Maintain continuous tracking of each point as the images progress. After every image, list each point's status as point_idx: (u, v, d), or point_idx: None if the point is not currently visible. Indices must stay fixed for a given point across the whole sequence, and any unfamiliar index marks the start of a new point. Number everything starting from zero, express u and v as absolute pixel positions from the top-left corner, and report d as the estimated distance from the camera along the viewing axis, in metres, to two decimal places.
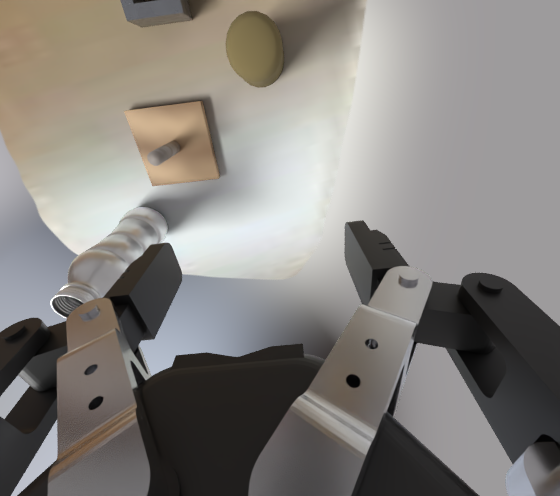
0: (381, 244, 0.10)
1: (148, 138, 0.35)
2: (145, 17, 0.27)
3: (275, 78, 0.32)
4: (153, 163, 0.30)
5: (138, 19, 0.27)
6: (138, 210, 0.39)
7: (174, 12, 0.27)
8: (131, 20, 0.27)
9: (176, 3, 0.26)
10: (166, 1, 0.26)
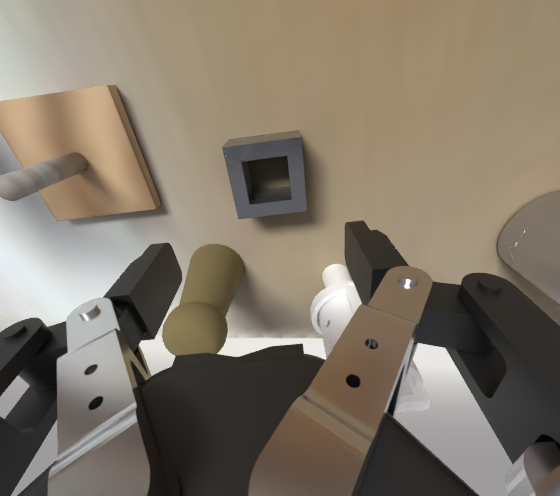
0: (381, 244, 0.10)
1: (76, 120, 0.21)
2: (229, 173, 0.21)
3: None
4: None
5: (226, 162, 0.20)
6: None
7: (237, 209, 0.22)
8: None
9: (246, 213, 0.22)
10: (246, 202, 0.22)
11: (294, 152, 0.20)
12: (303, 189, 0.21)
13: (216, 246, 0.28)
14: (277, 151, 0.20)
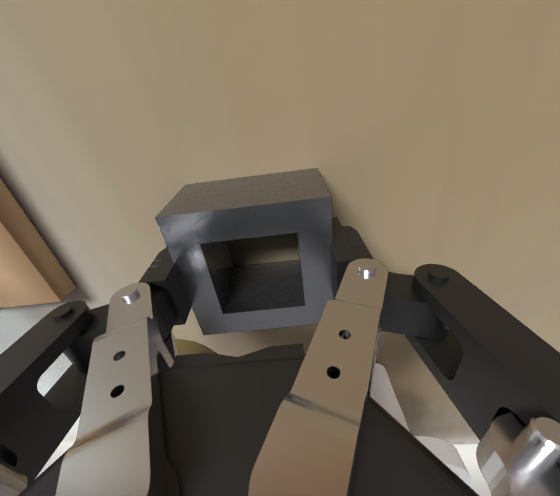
0: (351, 239, 0.10)
1: None
2: (176, 264, 0.10)
3: None
4: None
5: None
6: None
7: (200, 320, 0.12)
8: None
9: (217, 326, 0.12)
10: (217, 311, 0.11)
11: (314, 226, 0.09)
12: (329, 289, 0.11)
13: (177, 344, 0.17)
14: (277, 224, 0.09)
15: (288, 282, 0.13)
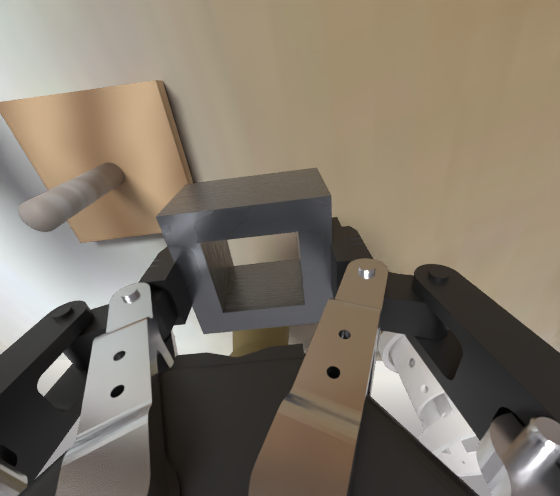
0: (351, 239, 0.10)
1: (113, 123, 0.17)
2: (176, 263, 0.10)
3: None
4: (23, 212, 0.12)
5: None
6: None
7: (200, 319, 0.12)
8: None
9: (217, 325, 0.12)
10: (217, 310, 0.11)
11: (313, 225, 0.09)
12: (329, 288, 0.11)
13: None
14: (277, 223, 0.09)
15: (288, 281, 0.13)
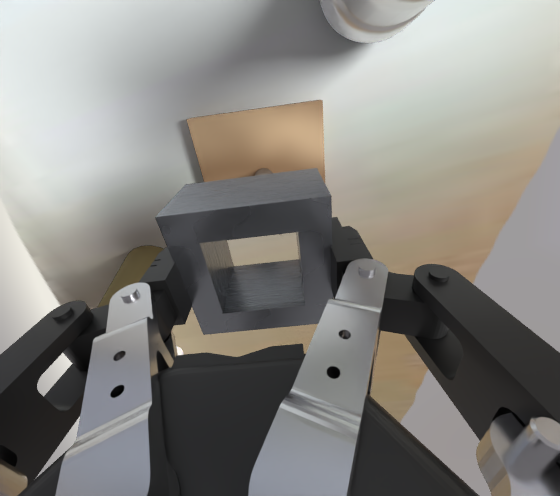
0: (351, 239, 0.10)
1: None
2: (176, 263, 0.10)
3: (124, 261, 0.25)
4: None
5: None
6: (367, 40, 0.16)
7: (200, 320, 0.12)
8: None
9: (217, 325, 0.12)
10: (217, 310, 0.11)
11: (313, 225, 0.09)
12: (329, 289, 0.11)
13: None
14: (277, 224, 0.09)
15: (288, 282, 0.13)
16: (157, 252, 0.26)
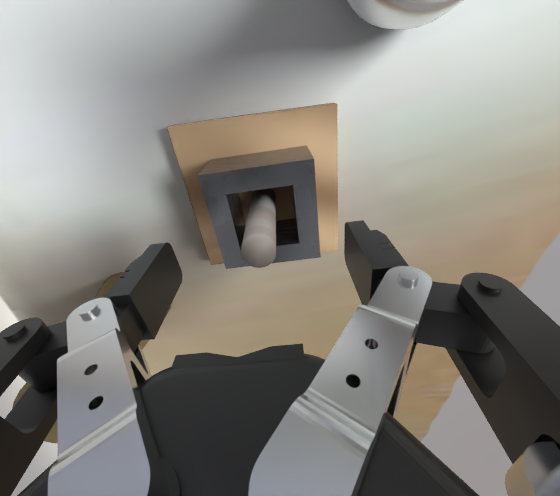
0: (381, 244, 0.10)
1: None
2: (209, 210, 0.14)
3: (99, 291, 0.22)
4: (263, 243, 0.11)
5: None
6: (401, 26, 0.12)
7: (224, 256, 0.16)
8: None
9: (236, 261, 0.16)
10: (236, 248, 0.16)
11: (303, 180, 0.14)
12: (316, 229, 0.15)
13: None
14: (278, 179, 0.14)
15: (287, 231, 0.17)
16: None
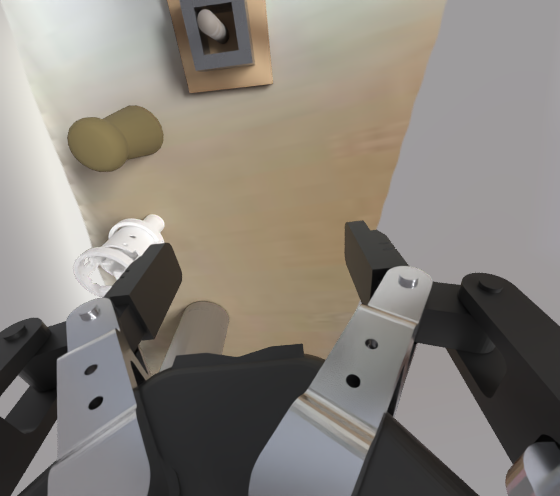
0: (381, 244, 0.10)
1: None
2: (184, 20, 0.25)
3: None
4: (208, 13, 0.22)
5: (181, 9, 0.25)
6: None
7: (194, 60, 0.27)
8: None
9: (201, 64, 0.27)
10: (201, 52, 0.26)
11: None
12: (247, 38, 0.26)
13: (161, 135, 0.34)
14: None
15: None
16: (141, 109, 0.32)
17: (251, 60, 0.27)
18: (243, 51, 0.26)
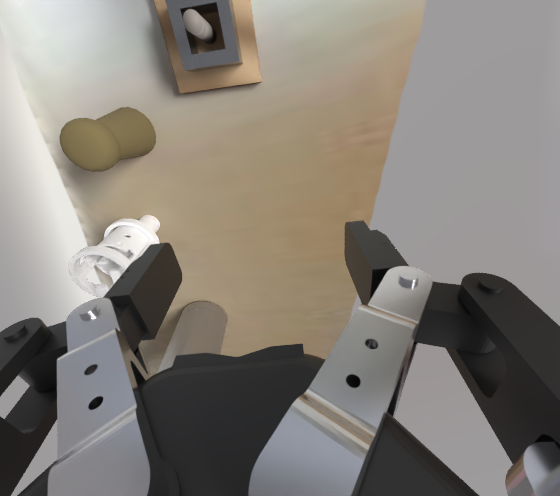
0: (381, 244, 0.10)
1: None
2: (171, 21, 0.25)
3: None
4: (193, 13, 0.23)
5: (168, 10, 0.25)
6: None
7: (182, 59, 0.27)
8: None
9: (189, 63, 0.27)
10: (189, 52, 0.27)
11: None
12: (233, 37, 0.26)
13: (154, 135, 0.35)
14: None
15: None
16: (133, 110, 0.33)
17: (238, 58, 0.27)
18: (230, 50, 0.27)
